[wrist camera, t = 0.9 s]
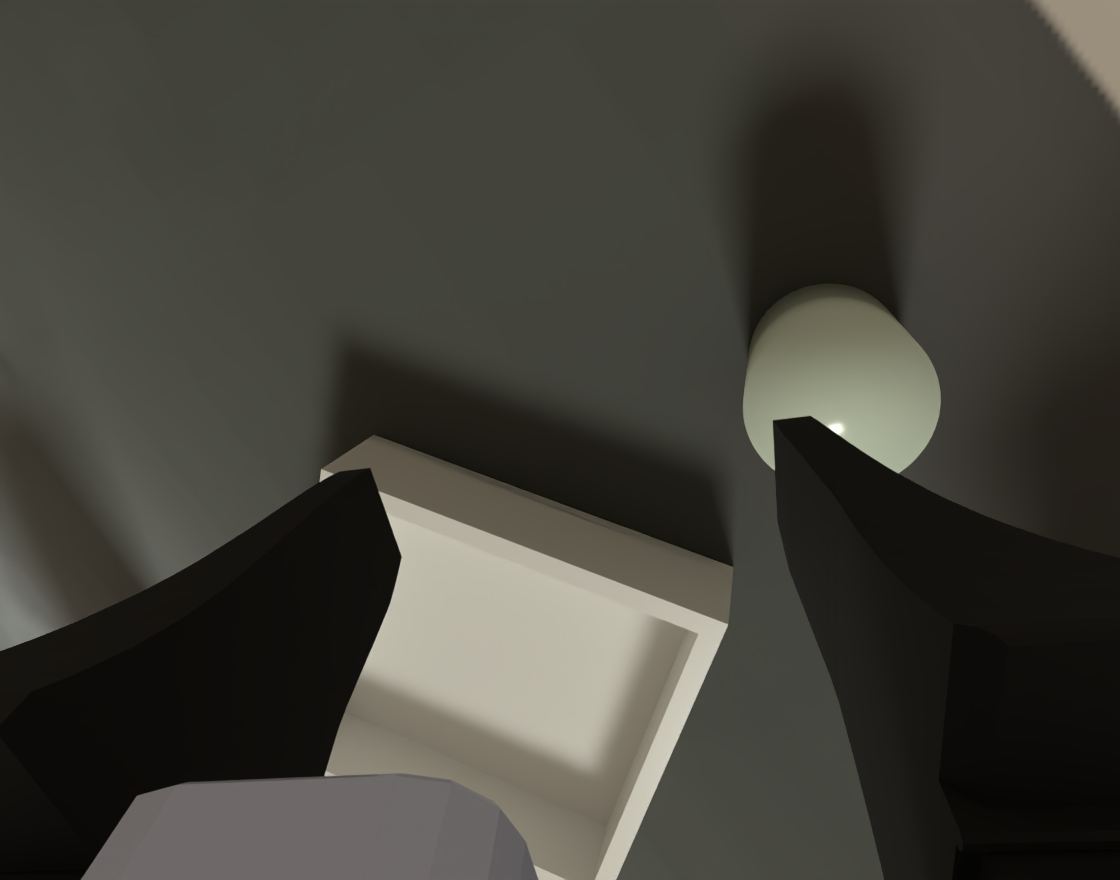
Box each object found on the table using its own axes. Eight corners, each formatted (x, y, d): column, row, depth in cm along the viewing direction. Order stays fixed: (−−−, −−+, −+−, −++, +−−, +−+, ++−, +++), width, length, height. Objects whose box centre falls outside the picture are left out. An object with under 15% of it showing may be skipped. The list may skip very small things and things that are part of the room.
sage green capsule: (928, 309, 23) (976, 349, 18) (864, 443, 25) (890, 516, 20) (779, 264, 24) (782, 290, 19) (728, 398, 26) (718, 456, 21)
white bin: (733, 567, 28) (728, 624, 25) (619, 833, 35) (602, 910, 31) (374, 434, 31) (321, 469, 27) (329, 706, 37) (282, 763, 33)
